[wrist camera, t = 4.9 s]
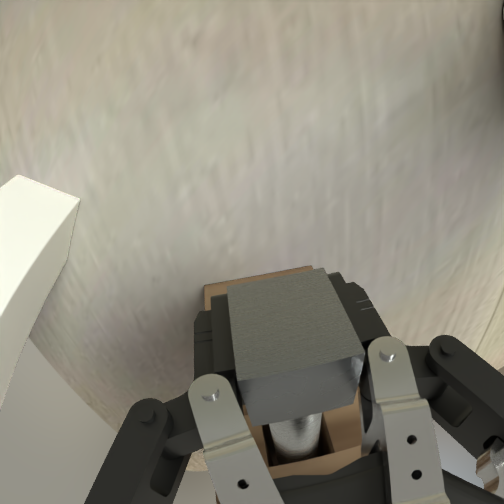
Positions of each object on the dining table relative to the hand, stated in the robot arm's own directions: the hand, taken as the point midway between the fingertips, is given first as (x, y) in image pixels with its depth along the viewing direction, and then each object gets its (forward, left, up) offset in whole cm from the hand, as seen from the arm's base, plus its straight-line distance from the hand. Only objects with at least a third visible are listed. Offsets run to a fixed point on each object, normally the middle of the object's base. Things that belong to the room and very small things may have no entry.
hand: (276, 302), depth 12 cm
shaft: (+13, 0, 0) cm, 13 cm away
